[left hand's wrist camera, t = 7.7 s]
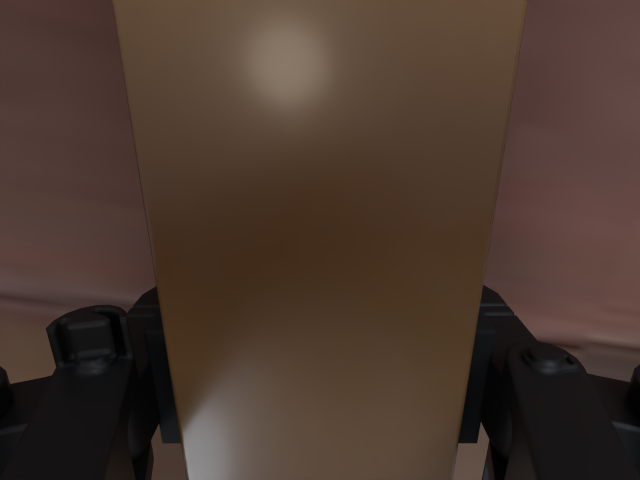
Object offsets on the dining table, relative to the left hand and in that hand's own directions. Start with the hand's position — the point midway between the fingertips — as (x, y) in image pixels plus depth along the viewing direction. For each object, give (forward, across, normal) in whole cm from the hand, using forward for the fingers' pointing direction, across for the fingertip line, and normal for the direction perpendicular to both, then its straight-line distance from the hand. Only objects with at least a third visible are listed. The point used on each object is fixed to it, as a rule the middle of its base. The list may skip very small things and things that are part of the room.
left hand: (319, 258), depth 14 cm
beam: (+1, 0, -20) cm, 20 cm away
